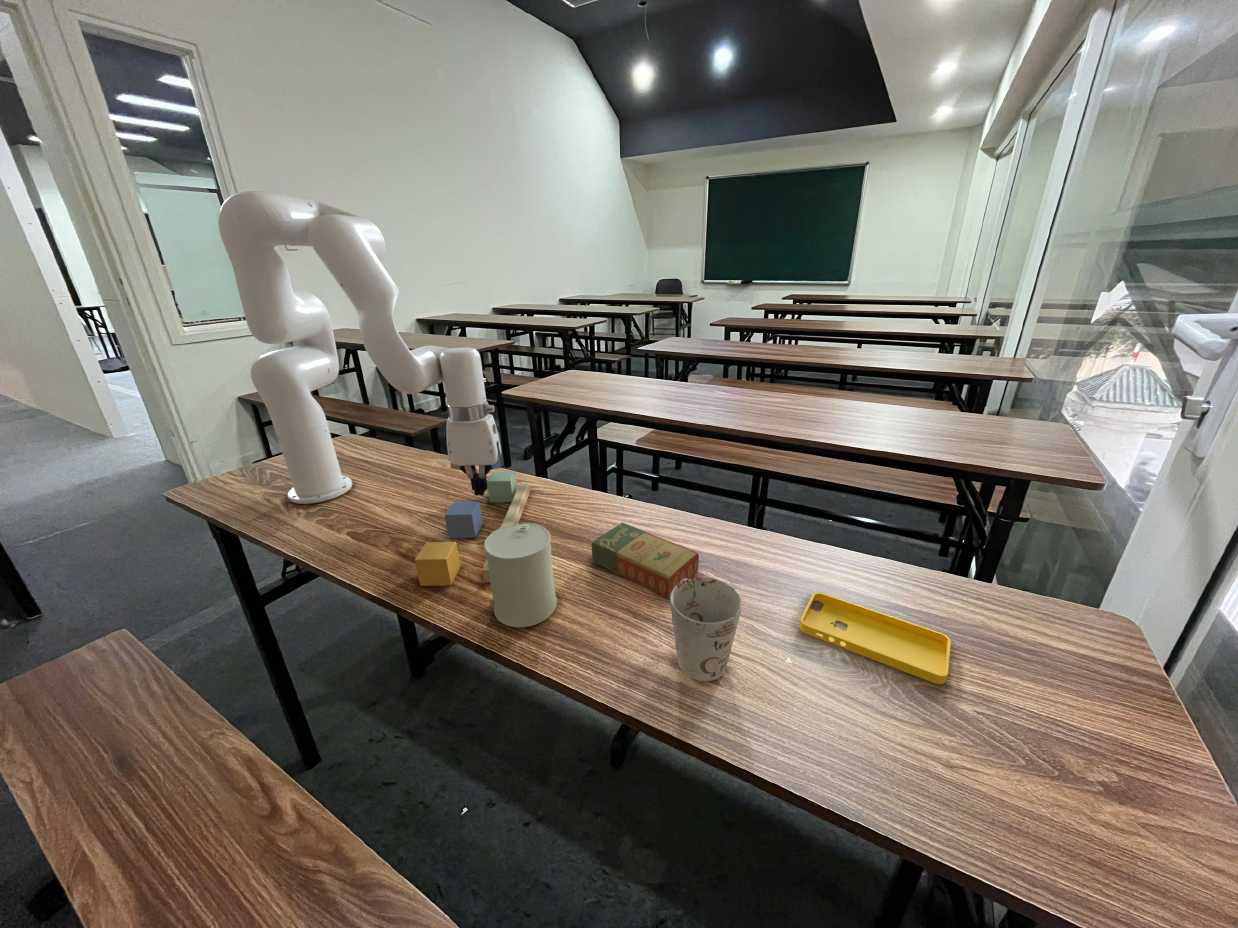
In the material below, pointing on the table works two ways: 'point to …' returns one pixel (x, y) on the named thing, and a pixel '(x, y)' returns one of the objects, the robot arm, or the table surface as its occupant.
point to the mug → (704, 625)
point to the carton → (645, 558)
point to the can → (521, 574)
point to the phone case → (879, 637)
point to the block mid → (463, 520)
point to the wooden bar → (512, 517)
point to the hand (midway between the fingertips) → (480, 492)
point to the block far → (502, 486)
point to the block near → (437, 563)
